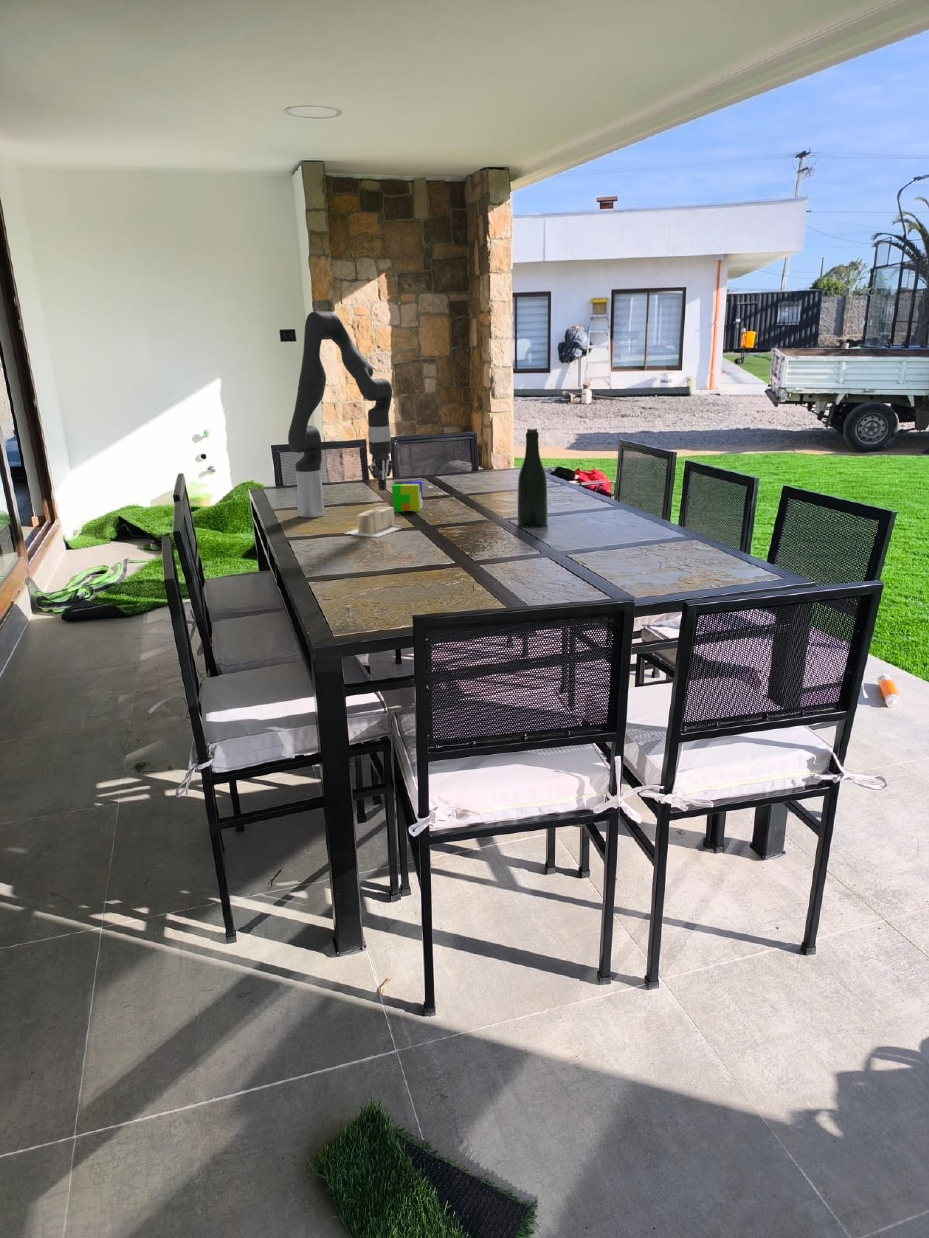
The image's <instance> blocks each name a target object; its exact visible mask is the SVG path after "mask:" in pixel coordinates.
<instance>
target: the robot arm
mask: <svg viewBox="0 0 929 1238" xmlns="http://www.w3.org/2000/svg"><path fill="white" fill-rule="evenodd" d="M304 323H305V325H304V339H303V350H302V351H303V354H302V359H301V360H302V361H301V366H300V367H301V368H300V373H299V379H298V386H297V394H296V399H295V400H296V401H295V405H294V411H293V415H292V419H291V422H290V426H289V430H288V435H287V442H288V443H287V444H288V446H289V448H290V451H292V452H293V453H296V454H298V453H299V454H300V453H303V456H302V457H301V458H300V459H299V460H298V461H296V463H295V476H296V477H295V478H296V487H297V490H296V491H295V498H296V508H297V510H296V511H297V516H299V517H301V518H319V517H323V516H325V504H324V503H325V502H324V493H323V491H324V489H323V482H322V468H321V464H322V462H323V461H322V460H323V459H322V458H323V456H322V455H323V454H322V438H321V434H320V431H319V430H318V428H317V427H316V426H315V425H308V424H309V421H310V419H311V416H312V414H313V413H314V411H315V410H316V409H317V407H318V406H319V405H320V403H321V401H322V400H323V397H324V394H325V388H326V383H327V374H326V371H325V368H324V365H323V363H322V359H321V346H322V341H325V340H331V341H332V342H334V343H335V344H336V345H337V347H338V348H339V350H340V356H341V361H342V363H343V366H344V367H345V369H346V370H347V372H348V373H349V374H350V375H351V377H352V378H353V379H354V381H355V383H356V385H357V387H358V389H359V392H360V394H361V396H362V397H363V398H364V399H365V400H366V401H369V402H375V403H374V406H373V407H372V408H370V409H368V412H367V420H368V421H367V423H368V429H367V430H368V432H367V433H368V434H367V435H368V436H367V437H368V449H369V451H368V452H369V454H370V455H371V456H372V458H371V463H370V464H369V465H367V469H368V471H369V472H370V474H371V476H372V477H373V479H376V480H377V483H378V484H377V485H378V490H379V491H383V492H384V491H387V479H388V477H390V476H391V473H392V470H393V468H394V464H395V461H394V460H391V459H390V454H391V453H392V439H391V429H390V419H389V418H390V416H389V415H390V414H389V413H390V408H391V403H392V399H393V388H392V385H391V383H390V381H389V379H386V378H383V377H382V378H372V377H373V374H374V369H373V367H372V366H371V364H370V363H369V362H368V360H367V359H366V358H365V357H364V356H363V355H362V353H361V352H360V351H359V349H358V348H357V347H356V345H355V343H354V342H353V340H352V338H351V336H350V335H349V333H348V330H347V329H346V327H345V326H344V324H343V322H342V321H341V319H340V317H339V316H338V315H337V313H335V312H333V311H330V310H329V311H325V310H322V311H320V310H318V311H316V310H315V311H311V312H310V313H308V315H307V317H306V320H305V322H304Z"/></svg>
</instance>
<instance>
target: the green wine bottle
mask: <svg viewBox="0 0 929 1238" xmlns="http://www.w3.org/2000/svg"><path fill="white" fill-rule="evenodd" d="M539 437H540V435H539V432H538V429H537V427H536V428H534V427H532V428H531V427H529V428H527V429H526V433H525V452H524V458H523V462H522V465H521V468H520V470H519V473H518V477H517V478H518V480H517V502H516V504H517V508H516V509H517V516H516V517H517V524H518V525H519V527H523V528H541V527H546V525H547V524H548V482H547V481H548V480H547V474H546V471H545V468H544V465H543V462H542V459H541V455H540V451H539V450H540V447H539V446H540V444H539Z"/></svg>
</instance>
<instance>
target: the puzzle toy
mask: <svg viewBox="0 0 929 1238" xmlns="http://www.w3.org/2000/svg"><path fill="white" fill-rule="evenodd" d="M422 483H423V482H422V480H421V481H420V480H415V481H414V480H413V481H411V480H410V481H407V480H406V481H404V480H403V481H399V480H398V481H395V482H394V483H393V484H392V485H391V491H392V492H391V493H392V494H391V497H392V507H394V512H397V513H398V512H403V513H404V511H413V512H420V511H419V510H420V509H422V508H423V507H424V504H423V503H424V501H423V484H422Z"/></svg>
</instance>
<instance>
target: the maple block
mask: <svg viewBox="0 0 929 1238" xmlns="http://www.w3.org/2000/svg"><path fill="white" fill-rule="evenodd" d="M356 524H357V529H358V532H360V533H370V534H373V533H375V532H378V531H380V530H382V529H385V528H387V527H389V526H391V525H396V515H395V512H394V507H393V506H385V505H379V506H376V507H374V508H370V509H369V510H367V511H364V512H361V513H359V514H357V515H356Z"/></svg>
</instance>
